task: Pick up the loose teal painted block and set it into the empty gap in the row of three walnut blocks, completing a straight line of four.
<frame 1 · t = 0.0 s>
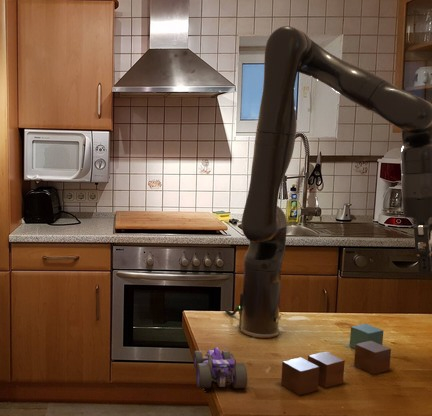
hand: (427, 269, 112), 22 cm above the table, tool pointing down, fingers open, 8 cm apart
toy race car: (215, 376, 111), on the table
walnut block 1: (299, 387, 106), on the table
teal block: (365, 348, 125), on the table
walnut block 4: (371, 368, 115), on the table
walnut block 2: (324, 380, 109), on the table
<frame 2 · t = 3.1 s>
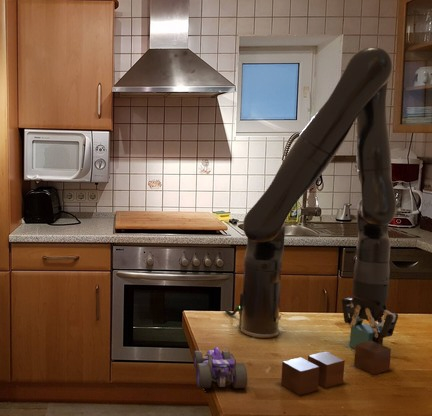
hand: (365, 346, 125), 0 cm above the table, tool pointing down, fingers closed on teal block, 5 cm apart
teal block: (365, 348, 125), on the table, touching gripper
everything else where it was.
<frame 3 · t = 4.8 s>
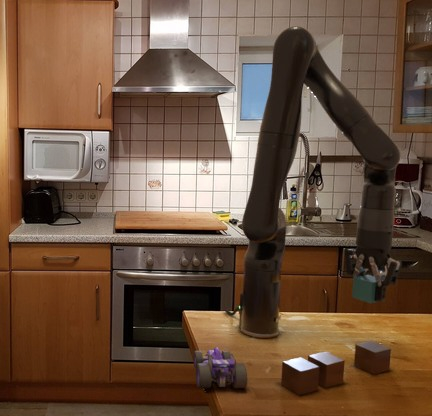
hand: (368, 297, 124), 13 cm above the table, tool pointing down, fingers closed on teal block, 5 cm apart
teal block: (368, 298, 124), point 12 cm above the table, touching gripper
everything else where it was.
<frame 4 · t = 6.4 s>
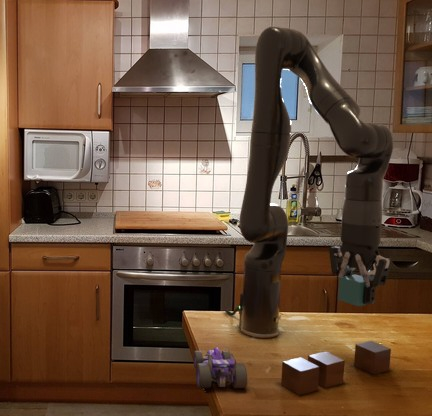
hand: (356, 299, 111), 16 cm above the table, tool pointing down, fingers closed on teal block, 5 cm apart
teal block: (356, 301, 111), point 16 cm above the table, touching gripper
everything else where it was.
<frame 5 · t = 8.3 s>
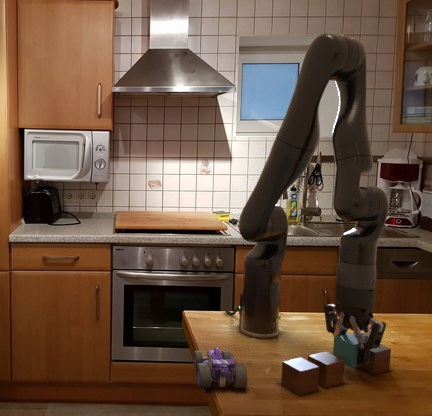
hand: (350, 359, 111), 3 cm above the table, tool pointing down, fingers closed on teal block, 5 cm apart
teal block: (350, 361, 112), point 3 cm above the table, touching gripper
everything else where it was.
when the fingers open (0 cm above the table, at t = 9.7 s): teal block stays where it is, on the table.
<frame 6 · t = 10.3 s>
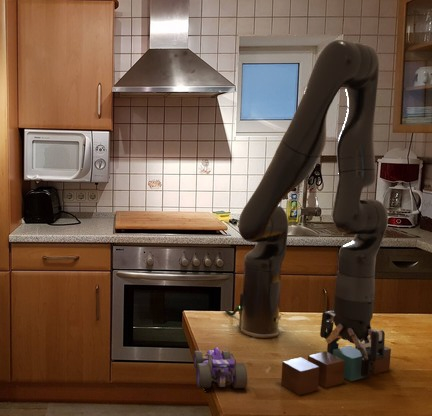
hand: (348, 367, 112), 1 cm above the table, tool pointing down, fingers open, 8 cm apart
teal block: (349, 374, 112), on the table
everything else where it was.
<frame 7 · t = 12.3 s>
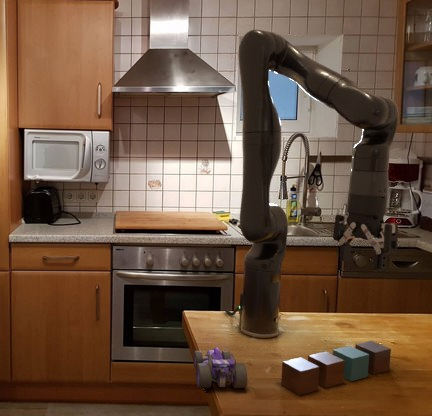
hand: (361, 266, 113), 23 cm above the table, tool pointing down, fingers open, 8 cm apart
nothing on the table moved.
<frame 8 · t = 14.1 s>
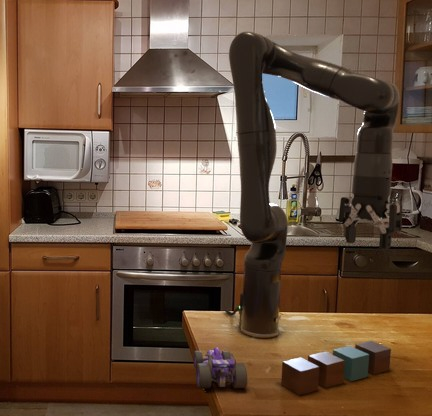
hand: (366, 246, 117), 26 cm above the table, tool pointing down, fingers open, 8 cm apart
nothing on the table moved.
at the end: teal block 0.1 cm from the target spot, on the table; teal block tilted 0°; walnut block 4 moved 0.0 cm from its start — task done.
